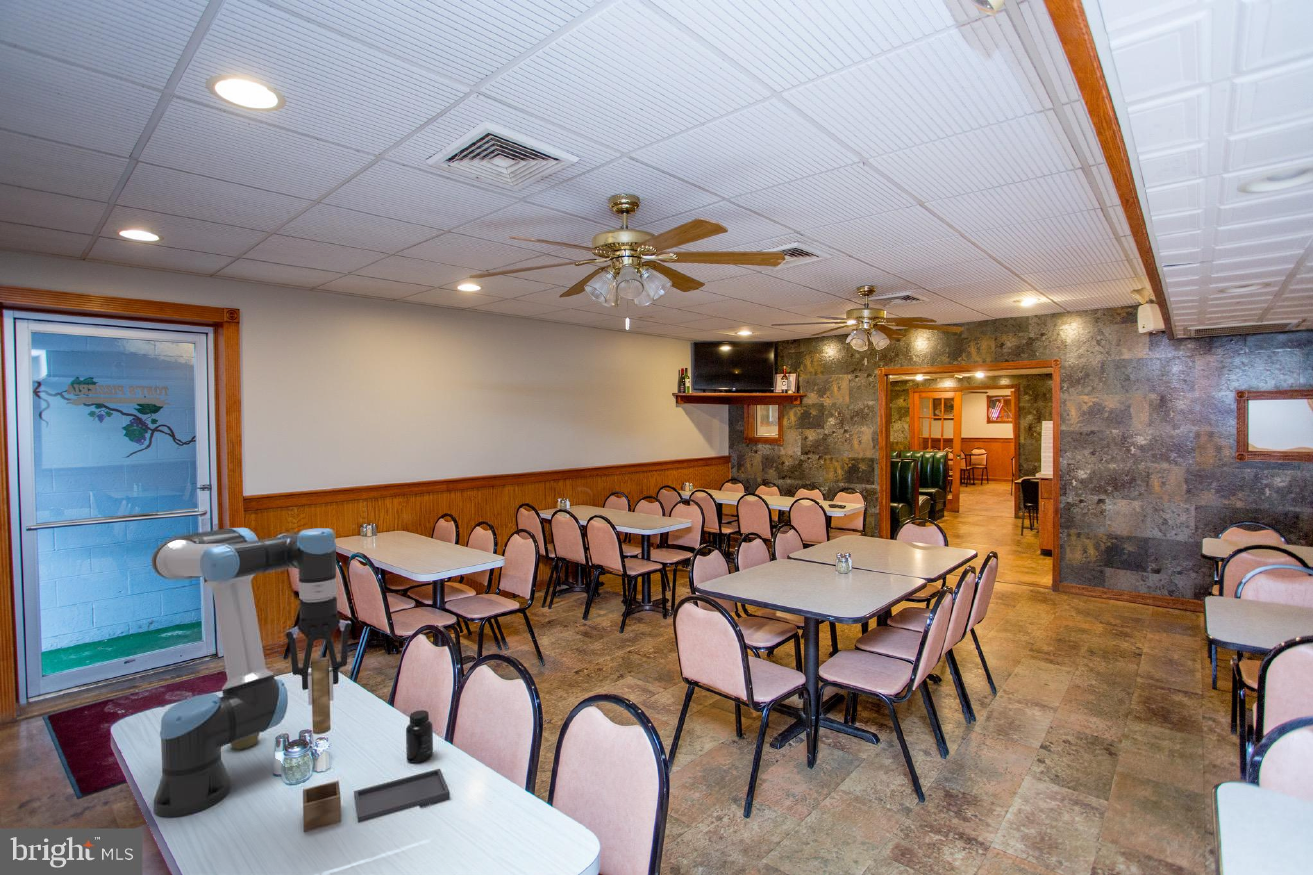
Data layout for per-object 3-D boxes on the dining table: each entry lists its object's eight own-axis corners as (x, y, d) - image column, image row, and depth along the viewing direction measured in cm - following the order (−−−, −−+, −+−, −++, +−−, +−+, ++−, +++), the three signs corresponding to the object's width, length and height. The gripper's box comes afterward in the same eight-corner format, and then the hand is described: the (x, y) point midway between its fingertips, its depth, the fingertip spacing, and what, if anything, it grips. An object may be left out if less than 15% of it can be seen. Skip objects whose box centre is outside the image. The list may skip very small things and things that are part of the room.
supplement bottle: (400, 760, 172) (399, 716, 172) (420, 748, 178) (419, 706, 178) (419, 766, 169) (418, 721, 169) (438, 754, 175) (437, 711, 175)
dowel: (312, 735, 143) (310, 664, 143) (312, 729, 146) (310, 659, 146) (330, 731, 145) (329, 661, 145) (330, 725, 148) (328, 656, 148)
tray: (358, 825, 144) (357, 817, 144) (354, 798, 155) (353, 791, 155) (449, 798, 154) (449, 791, 154) (440, 775, 165) (439, 768, 164)
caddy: (303, 835, 141) (303, 805, 141) (303, 817, 148) (302, 789, 147) (341, 824, 145) (340, 795, 145) (339, 807, 151) (338, 780, 151)
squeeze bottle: (268, 738, 186) (266, 676, 185) (247, 752, 177) (245, 688, 177) (242, 737, 186) (240, 675, 186) (220, 751, 178) (218, 687, 178)
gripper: (274, 607, 138) (277, 715, 138) (359, 596, 146) (362, 698, 146) (276, 599, 144) (279, 702, 145) (357, 589, 152) (359, 687, 153)
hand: (321, 700), depth 146 cm, fingers closed on dowel, 3 cm apart
